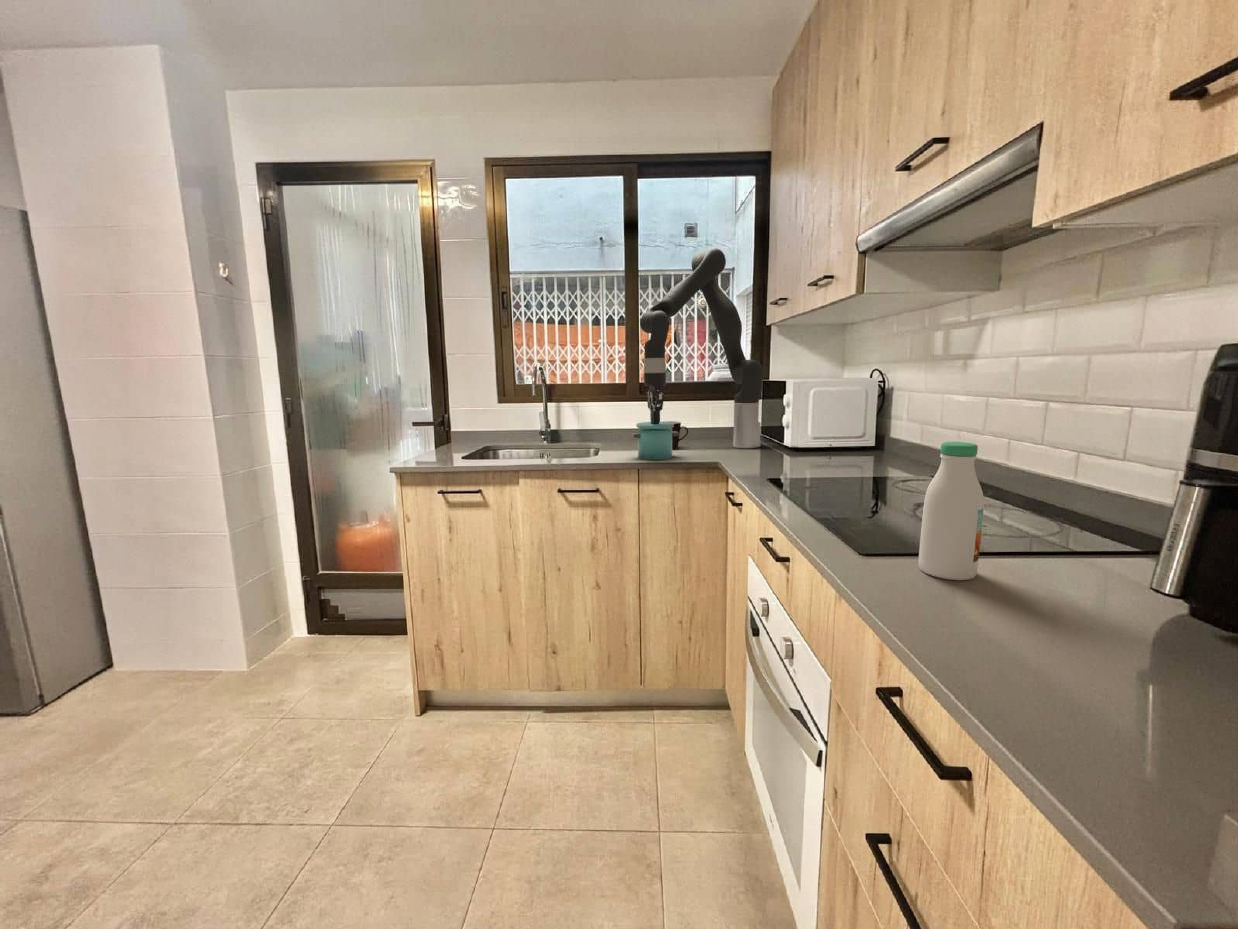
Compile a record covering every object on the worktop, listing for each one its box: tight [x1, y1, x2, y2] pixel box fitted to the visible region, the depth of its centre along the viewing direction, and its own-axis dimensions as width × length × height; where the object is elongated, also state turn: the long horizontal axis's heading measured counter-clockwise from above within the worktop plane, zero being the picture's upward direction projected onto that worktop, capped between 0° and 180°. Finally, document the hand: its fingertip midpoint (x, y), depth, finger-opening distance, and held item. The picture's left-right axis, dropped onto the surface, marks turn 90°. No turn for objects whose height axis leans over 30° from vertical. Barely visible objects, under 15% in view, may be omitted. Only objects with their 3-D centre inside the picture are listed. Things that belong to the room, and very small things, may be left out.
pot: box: [630, 428, 680, 461], centre depth 188 cm, size 16×12×10 cm
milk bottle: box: [918, 441, 985, 581], centre depth 81 cm, size 8×8×20 cm
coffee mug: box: [662, 420, 689, 450], centre depth 207 cm, size 12×9×10 cm
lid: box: [636, 409, 674, 429], centre depth 186 cm, size 13×13×6 cm
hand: (655, 421), depth 187 cm, fingers closed on lid, 3 cm apart
